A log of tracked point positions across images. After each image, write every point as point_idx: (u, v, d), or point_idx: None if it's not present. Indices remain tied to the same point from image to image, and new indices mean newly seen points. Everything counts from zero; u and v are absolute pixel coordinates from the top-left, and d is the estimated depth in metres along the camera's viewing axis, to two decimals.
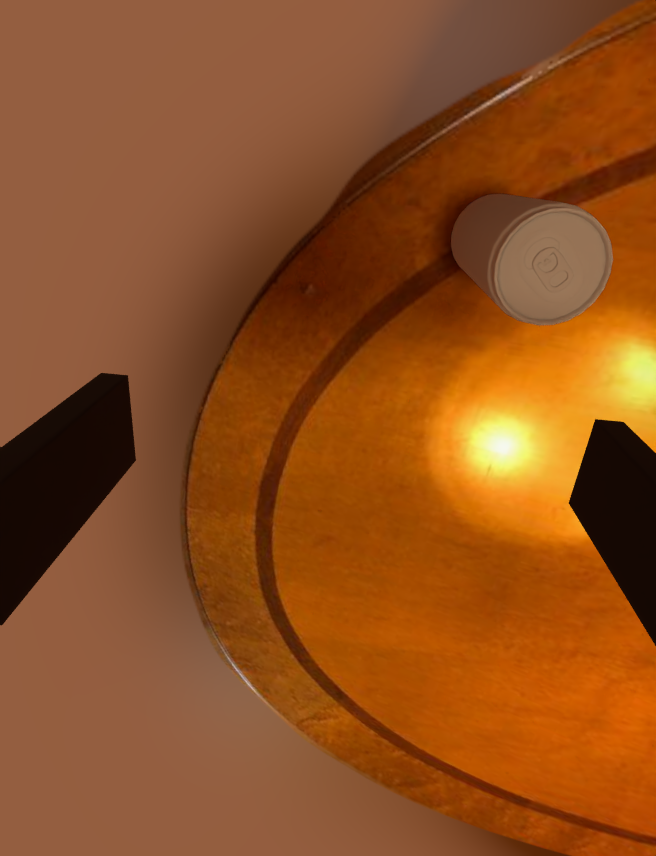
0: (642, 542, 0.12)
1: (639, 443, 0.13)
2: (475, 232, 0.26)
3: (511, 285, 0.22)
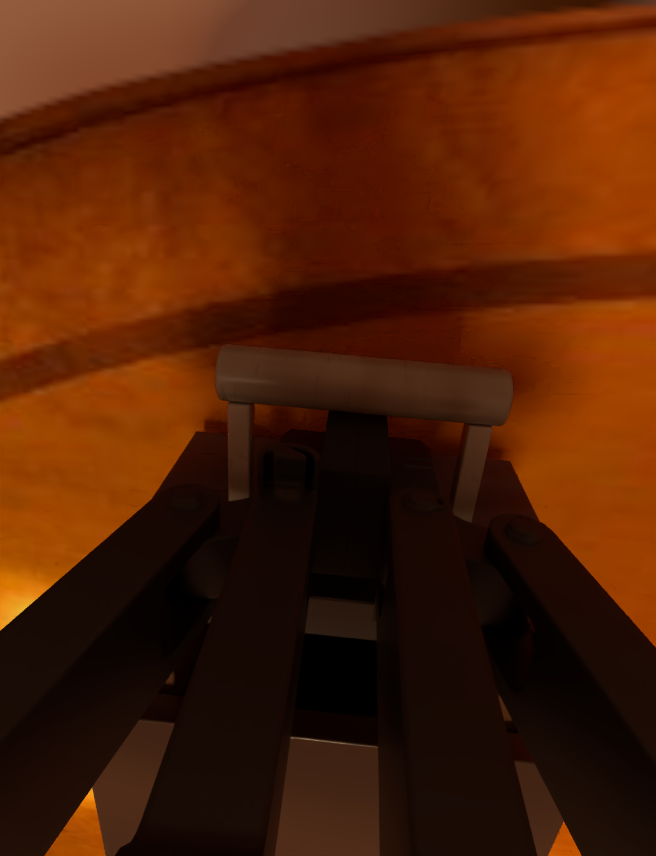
0: None
1: None
2: None
3: None
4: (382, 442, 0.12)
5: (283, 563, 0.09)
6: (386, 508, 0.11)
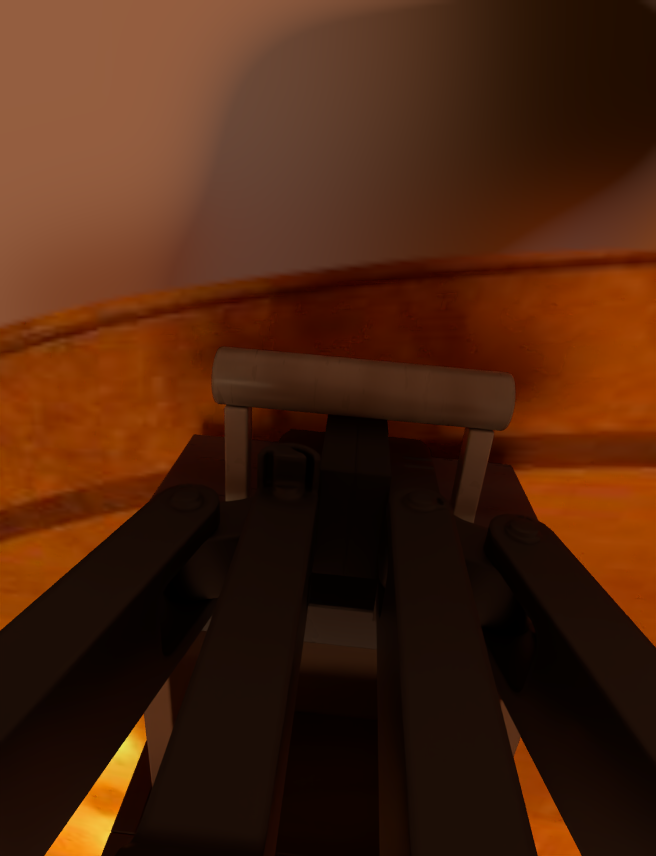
0: None
1: None
2: None
3: None
4: (382, 442, 0.12)
5: (283, 563, 0.09)
6: (386, 508, 0.11)
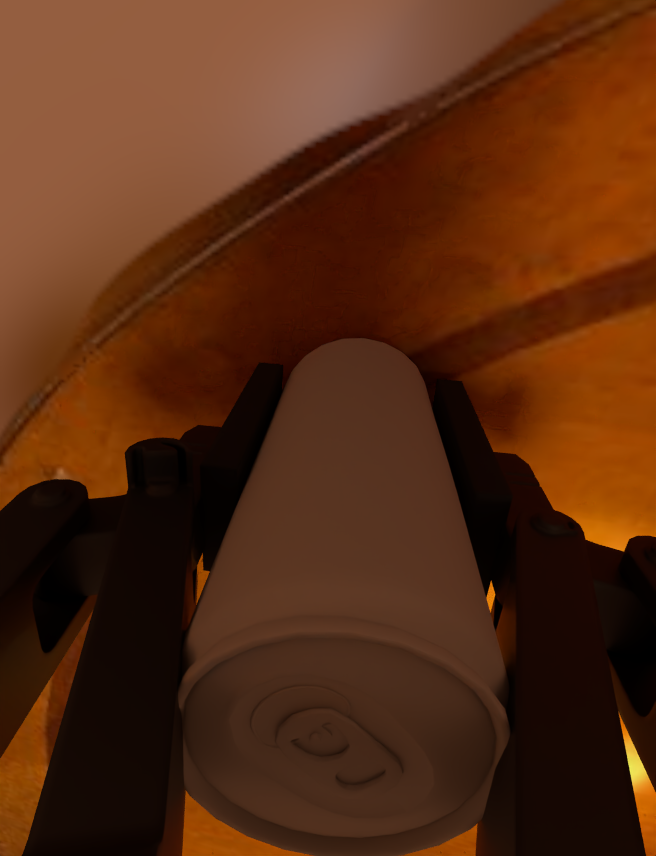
0: None
1: (462, 396, 0.15)
2: (243, 489, 0.11)
3: (229, 776, 0.07)
4: (489, 458, 0.12)
5: (162, 558, 0.08)
6: (507, 528, 0.11)
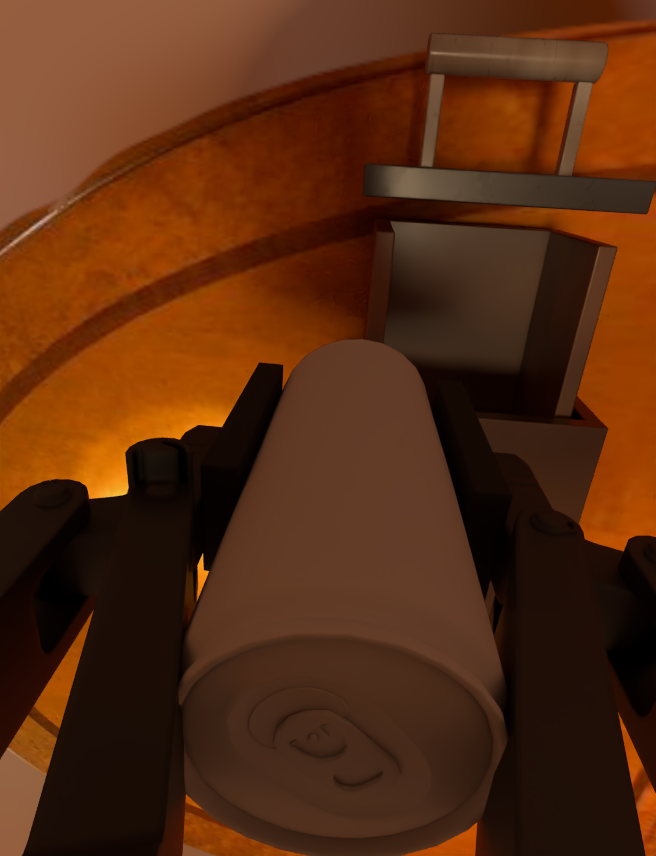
0: None
1: (462, 396, 0.15)
2: (242, 491, 0.11)
3: (227, 777, 0.07)
4: (489, 458, 0.12)
5: (163, 558, 0.08)
6: (506, 528, 0.11)
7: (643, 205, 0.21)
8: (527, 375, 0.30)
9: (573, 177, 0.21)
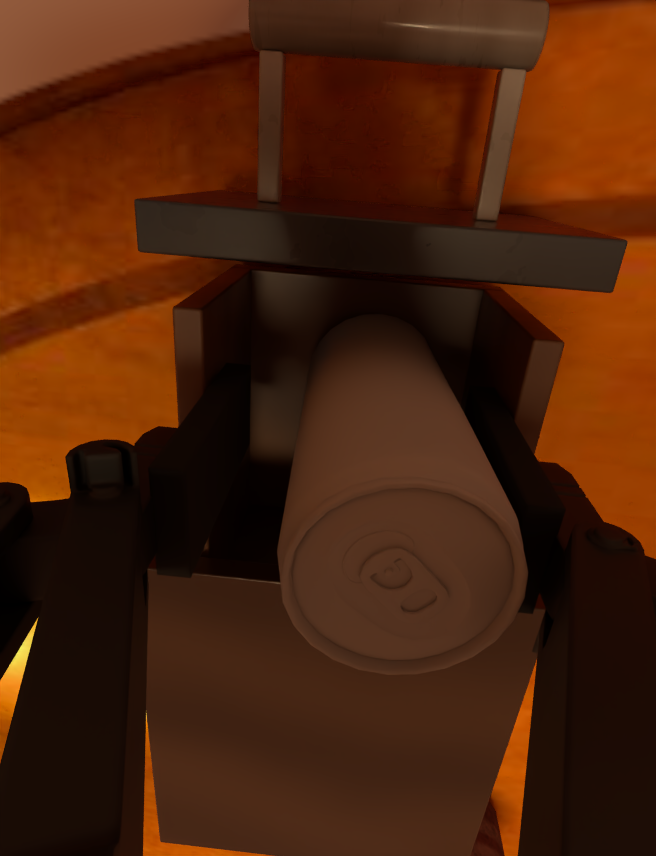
0: None
1: (498, 403, 0.15)
2: (300, 427, 0.14)
3: (322, 609, 0.10)
4: (536, 469, 0.12)
5: (109, 562, 0.08)
6: (559, 542, 0.10)
7: (605, 279, 0.12)
8: None
9: (486, 230, 0.12)
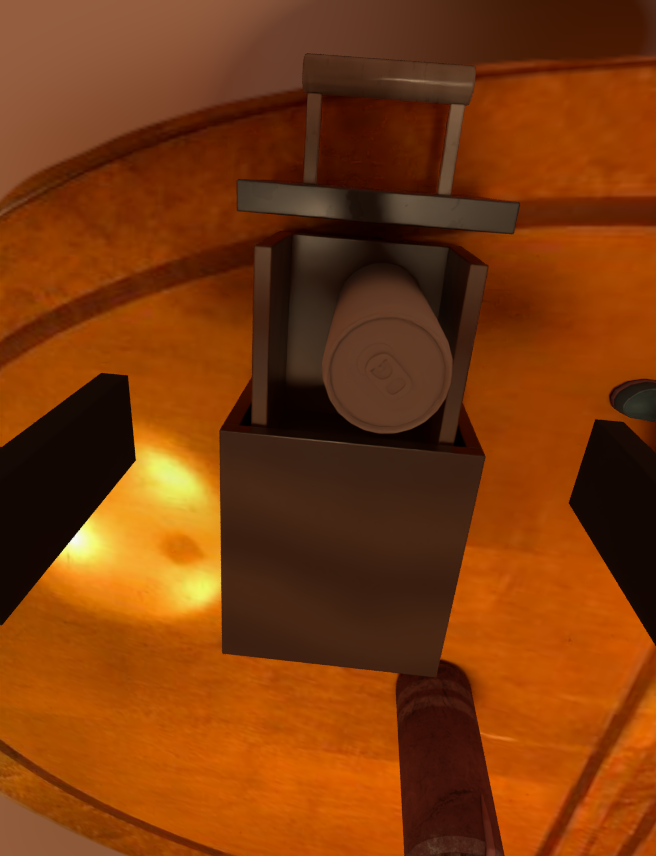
0: (642, 542, 0.12)
1: (639, 443, 0.13)
2: (333, 317, 0.23)
3: (345, 391, 0.20)
4: None
5: None
6: None
7: (508, 225, 0.22)
8: None
9: (439, 197, 0.21)
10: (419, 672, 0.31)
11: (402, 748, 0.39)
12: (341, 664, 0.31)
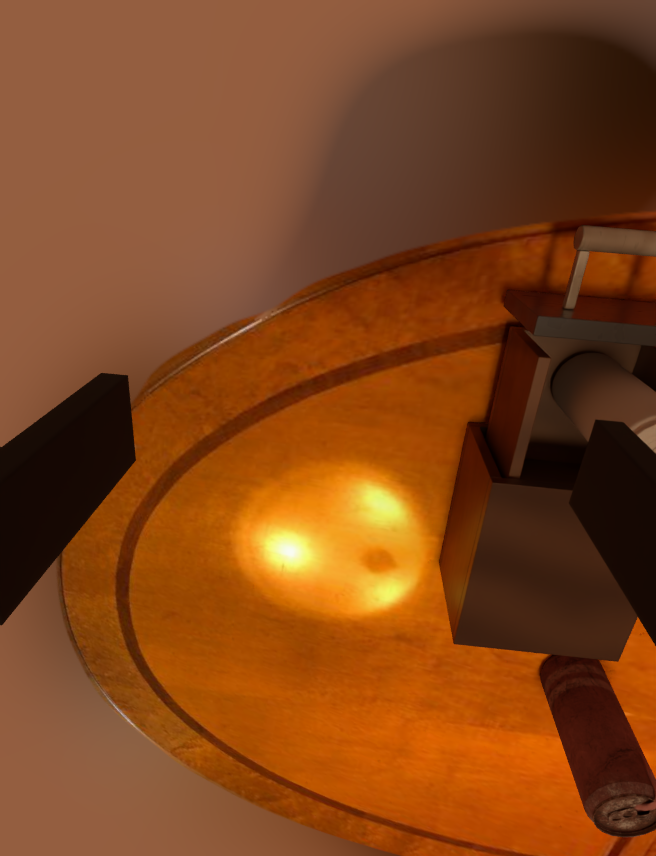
0: (642, 542, 0.12)
1: (639, 443, 0.13)
2: (590, 406, 0.33)
3: None
4: None
5: None
6: None
7: None
8: None
9: None
10: (606, 657, 0.41)
11: (562, 719, 0.49)
12: (546, 652, 0.41)
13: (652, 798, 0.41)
